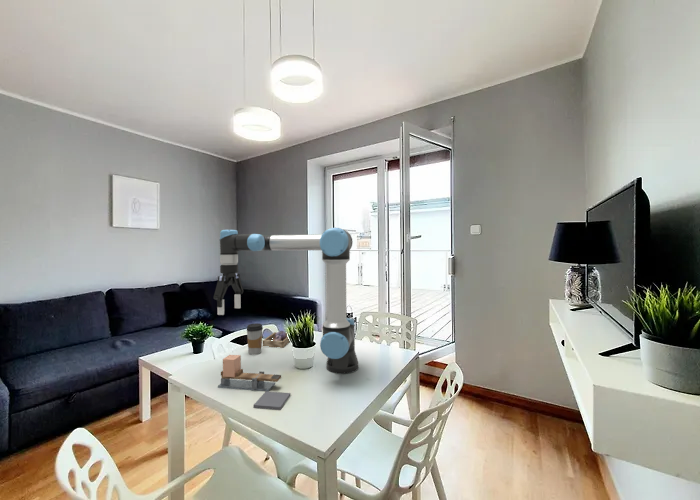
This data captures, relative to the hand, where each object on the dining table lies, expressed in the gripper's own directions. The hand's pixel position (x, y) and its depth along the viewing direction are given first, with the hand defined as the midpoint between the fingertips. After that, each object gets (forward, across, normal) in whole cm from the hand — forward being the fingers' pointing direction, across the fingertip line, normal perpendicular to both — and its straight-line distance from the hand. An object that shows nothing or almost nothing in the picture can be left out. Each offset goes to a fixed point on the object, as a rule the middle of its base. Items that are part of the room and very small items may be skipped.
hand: (229, 311), depth 133 cm
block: (+24, +11, +7) cm, 27 cm away
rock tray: (+28, -43, +5) cm, 52 cm away
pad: (+28, +21, +29) cm, 45 cm away
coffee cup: (+28, -25, -1) cm, 38 cm away
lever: (+25, +11, +16) cm, 31 cm away
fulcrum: (+28, +11, +14) cm, 33 cm away
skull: (+28, -43, +5) cm, 52 cm away
